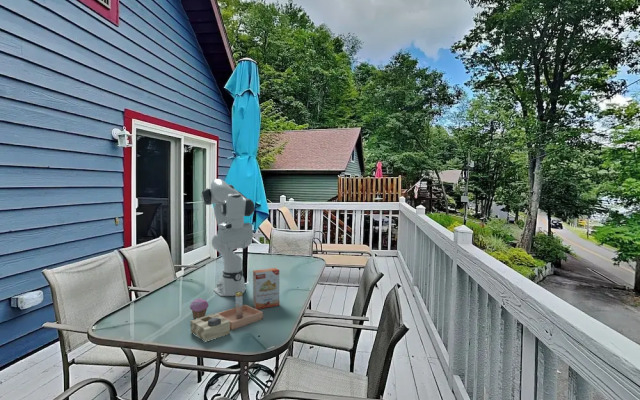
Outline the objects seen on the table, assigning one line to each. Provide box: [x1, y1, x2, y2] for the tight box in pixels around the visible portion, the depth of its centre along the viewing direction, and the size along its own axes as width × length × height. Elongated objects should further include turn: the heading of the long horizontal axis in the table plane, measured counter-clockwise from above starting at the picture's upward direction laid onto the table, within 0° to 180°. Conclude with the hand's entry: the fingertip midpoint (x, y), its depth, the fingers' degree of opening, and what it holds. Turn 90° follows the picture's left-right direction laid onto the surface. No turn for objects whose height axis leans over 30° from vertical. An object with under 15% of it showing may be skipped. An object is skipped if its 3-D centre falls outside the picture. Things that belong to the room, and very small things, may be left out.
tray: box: [215, 304, 264, 331], centre depth 170 cm, size 16×18×4 cm
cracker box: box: [252, 267, 280, 310], centre depth 188 cm, size 14×6×21 cm, turn 118°
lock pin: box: [235, 292, 244, 319], centre depth 170 cm, size 4×4×13 cm
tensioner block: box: [190, 313, 231, 341], centre depth 154 cm, size 14×12×7 cm
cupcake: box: [189, 297, 209, 319], centre depth 172 cm, size 9×9×10 cm
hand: (236, 249), depth 179 cm, fingers open, 8 cm apart
